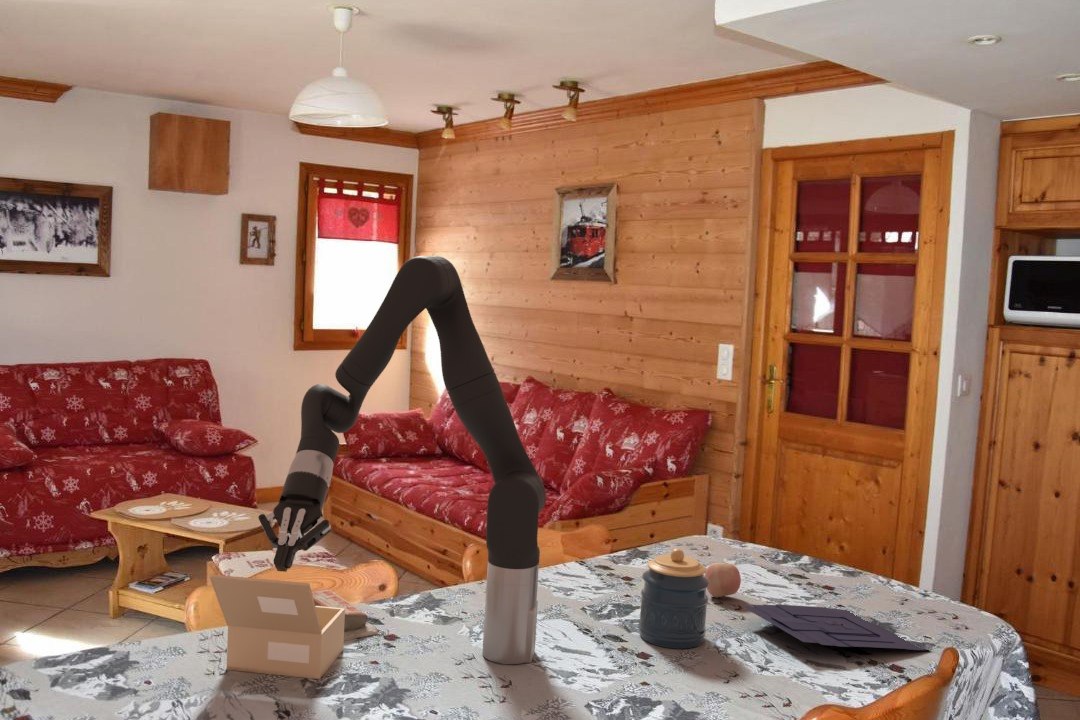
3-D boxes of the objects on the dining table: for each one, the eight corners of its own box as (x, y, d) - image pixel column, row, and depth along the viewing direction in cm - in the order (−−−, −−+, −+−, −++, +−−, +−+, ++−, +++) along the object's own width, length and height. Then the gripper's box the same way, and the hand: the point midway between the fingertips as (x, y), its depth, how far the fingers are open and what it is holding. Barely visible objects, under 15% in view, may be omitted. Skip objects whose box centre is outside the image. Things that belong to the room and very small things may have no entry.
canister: (712, 634, 194) (719, 547, 193) (694, 655, 182) (701, 562, 181) (650, 621, 199) (656, 536, 198) (628, 640, 188) (635, 550, 186)
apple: (744, 597, 219) (746, 562, 218) (731, 606, 212) (734, 570, 212) (710, 589, 223) (713, 555, 222) (697, 597, 216) (700, 562, 216)
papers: (732, 615, 202) (735, 598, 202) (846, 622, 214) (849, 605, 214) (806, 660, 180) (810, 640, 180) (929, 664, 192) (933, 646, 192)
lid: (309, 583, 152) (308, 586, 152) (321, 631, 161) (320, 635, 160) (210, 574, 154) (209, 577, 153) (228, 622, 162) (226, 625, 162)
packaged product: (289, 591, 191) (336, 584, 197) (288, 615, 191) (335, 607, 197) (331, 619, 177) (379, 611, 183) (329, 646, 177) (378, 636, 183)
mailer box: (343, 650, 174) (345, 608, 174) (319, 679, 161) (321, 634, 161) (256, 641, 176) (258, 600, 175) (226, 669, 163) (227, 625, 162)
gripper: (266, 466, 171) (236, 554, 160) (340, 472, 170) (315, 561, 159) (276, 490, 177) (247, 576, 166) (347, 496, 176) (323, 583, 165)
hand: (281, 569), depth 162 cm, fingers closed
